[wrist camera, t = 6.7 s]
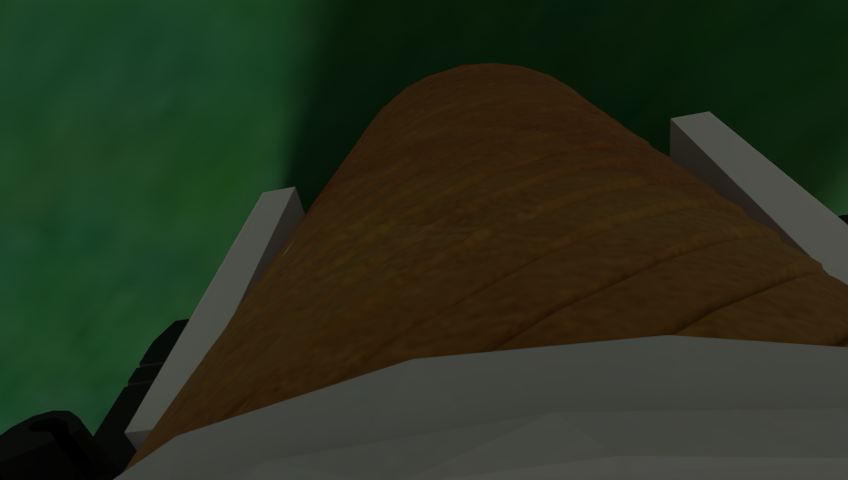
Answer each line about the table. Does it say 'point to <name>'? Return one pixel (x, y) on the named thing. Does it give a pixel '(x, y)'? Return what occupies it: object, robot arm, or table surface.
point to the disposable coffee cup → (518, 315)
